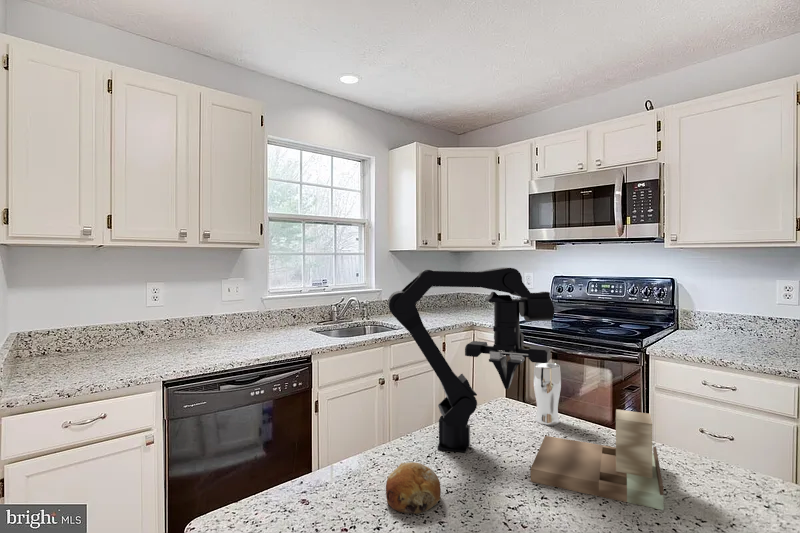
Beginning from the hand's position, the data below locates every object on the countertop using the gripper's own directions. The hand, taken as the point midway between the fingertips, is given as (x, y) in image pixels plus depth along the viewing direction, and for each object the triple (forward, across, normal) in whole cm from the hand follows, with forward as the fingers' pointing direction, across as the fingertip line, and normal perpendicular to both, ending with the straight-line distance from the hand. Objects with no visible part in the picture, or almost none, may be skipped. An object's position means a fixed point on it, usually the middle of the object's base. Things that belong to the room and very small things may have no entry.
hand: (507, 388), depth 101 cm
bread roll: (+13, +10, +31) cm, 35 cm away
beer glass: (+13, -6, -20) cm, 24 cm away
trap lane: (+13, -19, +6) cm, 24 cm away
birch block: (+10, -26, +6) cm, 29 cm away
